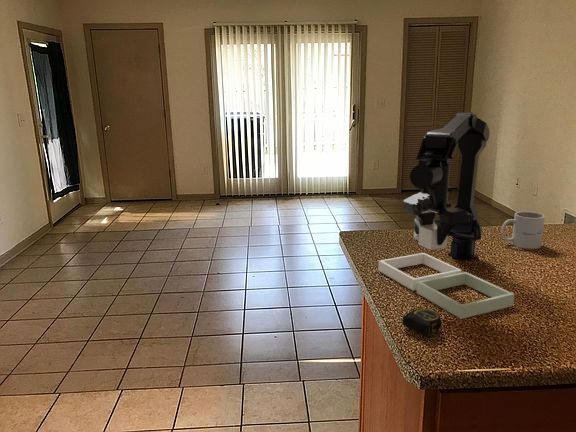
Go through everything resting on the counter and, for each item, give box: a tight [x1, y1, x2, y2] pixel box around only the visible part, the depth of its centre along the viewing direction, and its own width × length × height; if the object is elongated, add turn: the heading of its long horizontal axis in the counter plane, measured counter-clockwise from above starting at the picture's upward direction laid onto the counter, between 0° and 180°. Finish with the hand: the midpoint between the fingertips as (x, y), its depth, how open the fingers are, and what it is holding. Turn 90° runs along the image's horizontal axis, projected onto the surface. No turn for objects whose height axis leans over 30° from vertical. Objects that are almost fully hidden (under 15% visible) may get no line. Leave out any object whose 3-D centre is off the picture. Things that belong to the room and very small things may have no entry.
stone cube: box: [417, 224, 448, 251], centre depth 123 cm, size 5×5×5 cm
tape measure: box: [402, 308, 442, 338], centre depth 101 cm, size 7×7×4 cm
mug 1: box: [413, 217, 435, 242], centre depth 161 cm, size 10×7×7 cm, turn 172°
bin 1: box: [377, 252, 463, 292], centre depth 131 cm, size 16×16×3 cm
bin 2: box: [416, 271, 515, 320], centre depth 116 cm, size 16×16×3 cm
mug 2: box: [500, 211, 545, 250], centre depth 155 cm, size 12×9×10 cm
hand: (432, 241), depth 123 cm, fingers closed on stone cube, 5 cm apart
